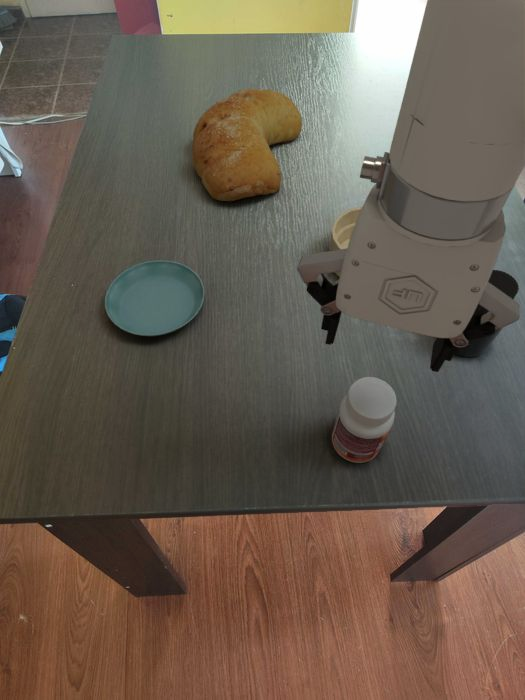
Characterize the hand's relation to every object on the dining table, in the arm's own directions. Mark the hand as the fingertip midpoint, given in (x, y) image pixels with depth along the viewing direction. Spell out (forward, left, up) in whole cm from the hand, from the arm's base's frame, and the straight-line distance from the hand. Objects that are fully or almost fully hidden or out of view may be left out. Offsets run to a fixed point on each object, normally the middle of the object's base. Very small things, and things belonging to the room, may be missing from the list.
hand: (382, 345), depth 43 cm
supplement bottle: (-13, -19, -20) cm, 30 cm away
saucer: (+32, -12, -20) cm, 39 cm away
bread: (+32, -53, -20) cm, 65 cm away
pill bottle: (-1, +1, -20) cm, 20 cm away
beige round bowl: (+3, -31, -19) cm, 37 cm away
